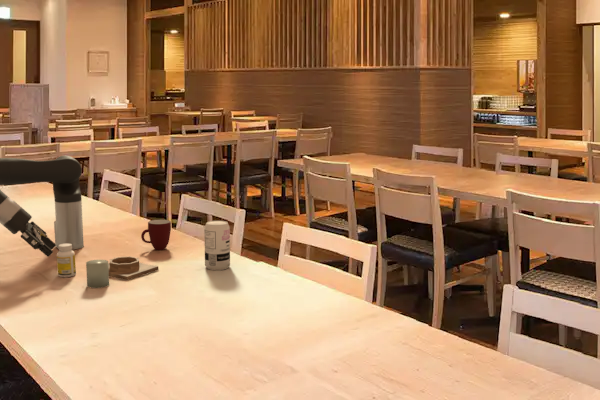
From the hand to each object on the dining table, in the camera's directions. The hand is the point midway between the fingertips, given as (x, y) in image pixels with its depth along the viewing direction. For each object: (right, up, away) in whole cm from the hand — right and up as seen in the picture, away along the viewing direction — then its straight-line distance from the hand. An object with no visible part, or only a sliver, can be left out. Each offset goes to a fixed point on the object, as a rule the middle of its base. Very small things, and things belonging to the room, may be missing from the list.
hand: (52, 250), depth 218 cm
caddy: (+20, -7, +8) cm, 23 cm away
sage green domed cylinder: (+16, -10, -7) cm, 20 cm away
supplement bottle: (+3, -8, +3) cm, 9 cm away
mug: (+25, -2, +37) cm, 44 cm away
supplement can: (+50, -7, +14) cm, 52 cm away
